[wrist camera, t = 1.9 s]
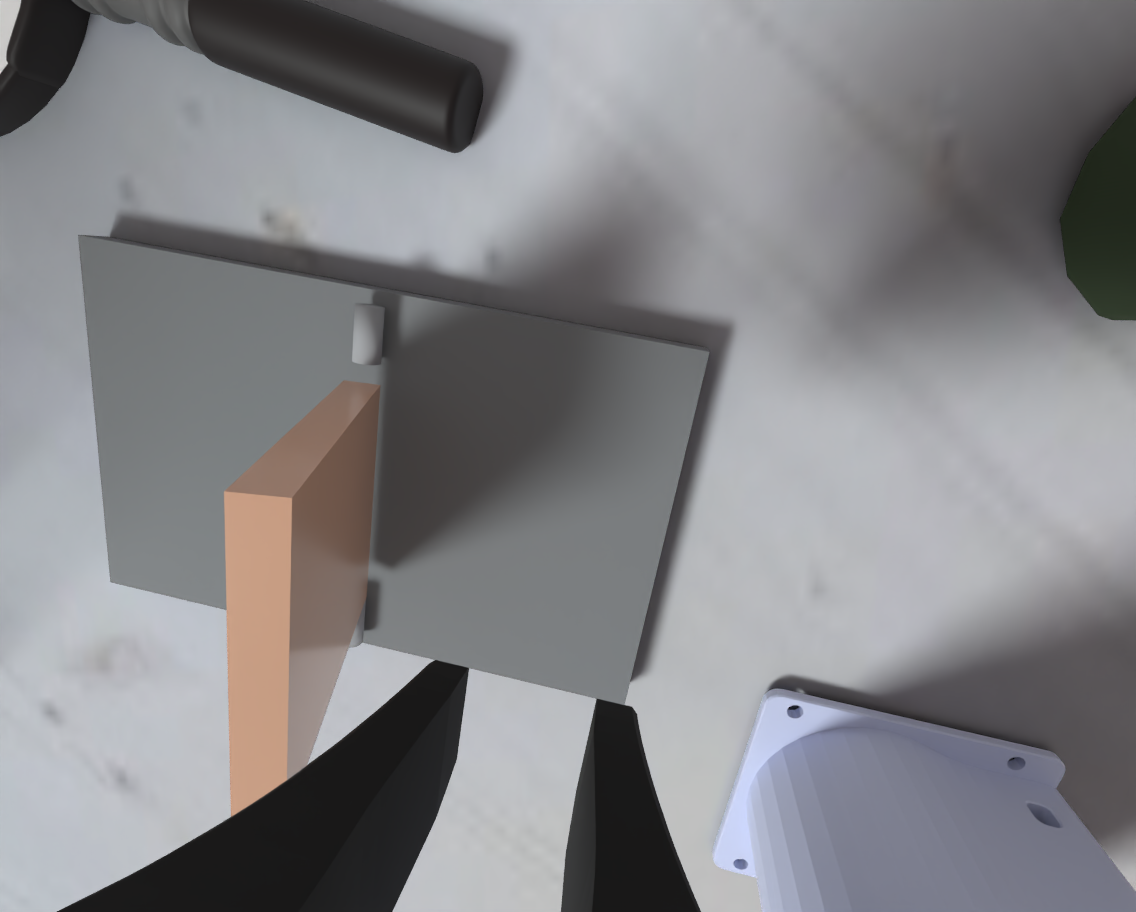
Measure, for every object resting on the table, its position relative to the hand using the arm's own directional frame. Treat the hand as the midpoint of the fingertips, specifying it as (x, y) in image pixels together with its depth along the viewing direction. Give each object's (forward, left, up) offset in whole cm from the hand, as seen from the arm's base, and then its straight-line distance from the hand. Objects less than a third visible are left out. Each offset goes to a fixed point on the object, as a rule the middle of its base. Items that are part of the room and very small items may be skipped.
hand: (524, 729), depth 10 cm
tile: (+5, 0, -4) cm, 6 cm away
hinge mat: (+7, 0, -9) cm, 12 cm away
